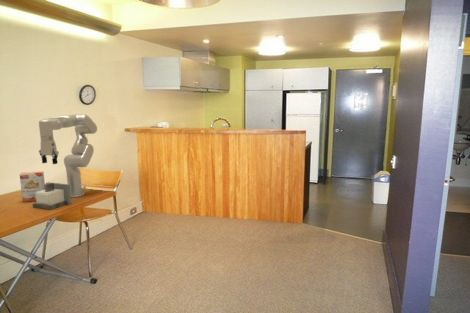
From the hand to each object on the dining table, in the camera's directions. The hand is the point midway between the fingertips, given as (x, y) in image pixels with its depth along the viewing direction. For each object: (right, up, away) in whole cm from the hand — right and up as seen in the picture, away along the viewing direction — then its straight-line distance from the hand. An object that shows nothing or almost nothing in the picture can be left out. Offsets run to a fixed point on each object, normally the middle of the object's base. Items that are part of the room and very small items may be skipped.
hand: (49, 163), depth 219 cm
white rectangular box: (-1, -27, +3) cm, 27 cm away
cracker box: (-21, -28, +16) cm, 38 cm away
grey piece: (-1, -29, +3) cm, 29 cm away
